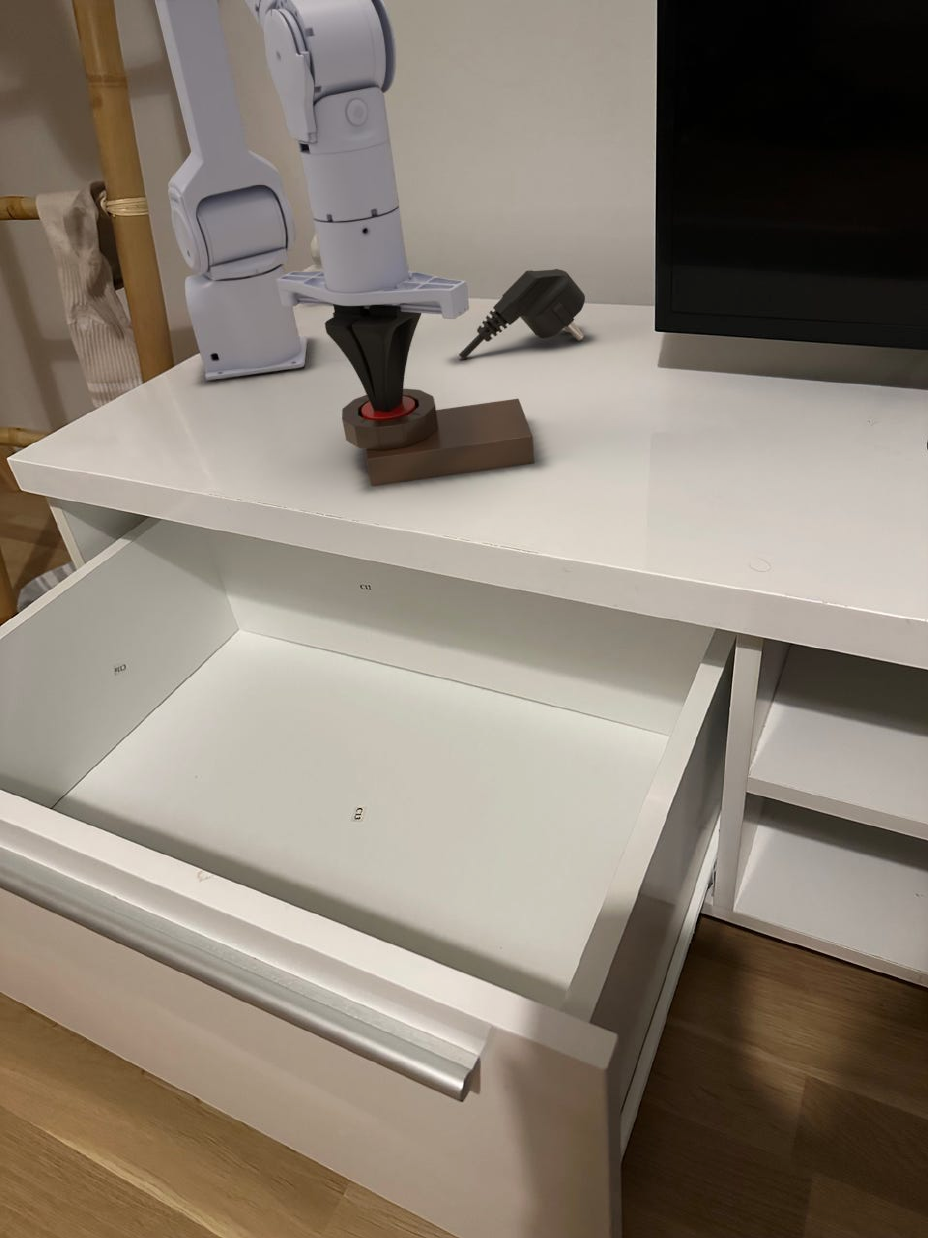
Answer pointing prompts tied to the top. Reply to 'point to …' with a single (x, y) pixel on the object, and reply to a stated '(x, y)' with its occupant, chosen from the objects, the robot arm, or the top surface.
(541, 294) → the power plug
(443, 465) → the switch box
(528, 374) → the top surface
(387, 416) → the light button
